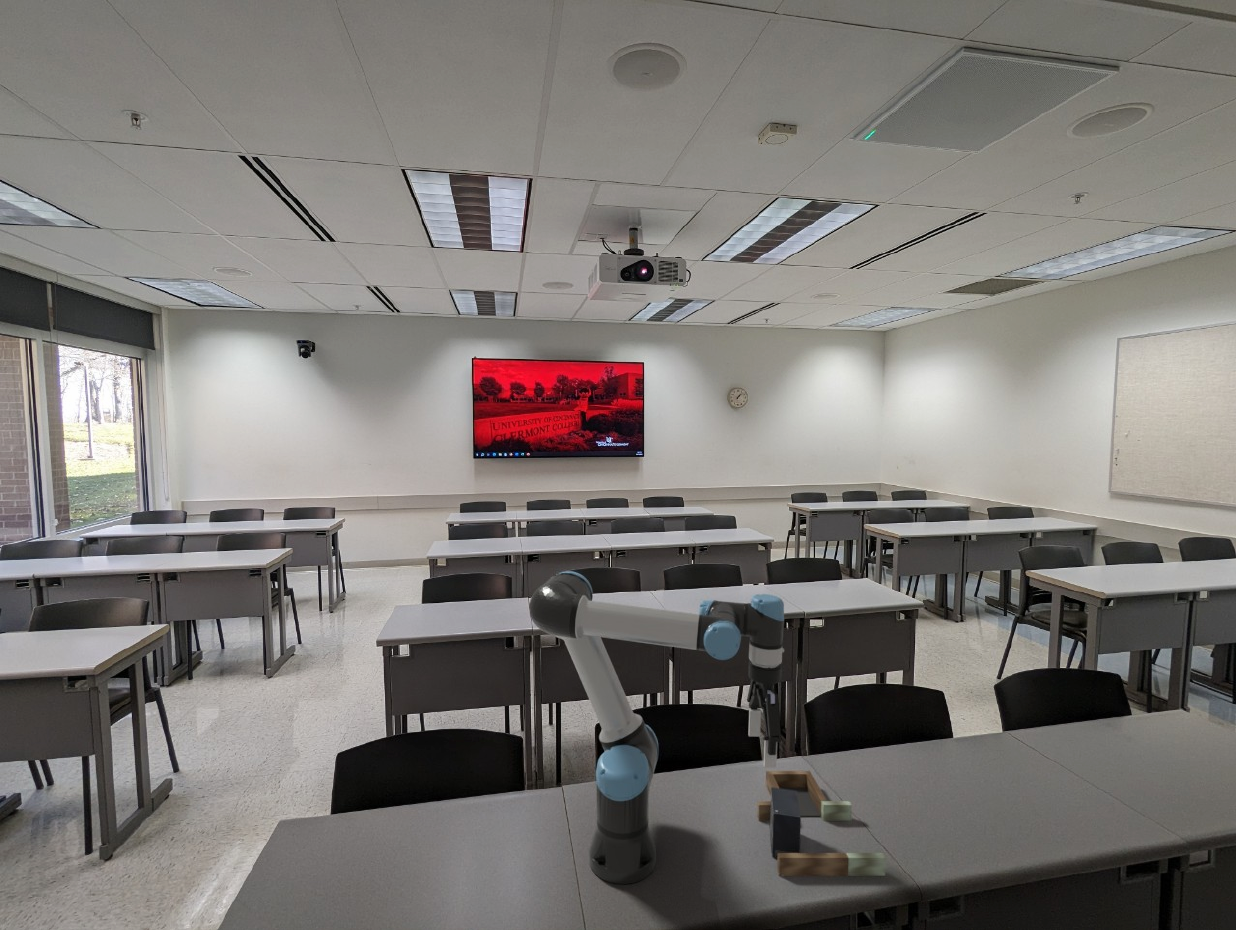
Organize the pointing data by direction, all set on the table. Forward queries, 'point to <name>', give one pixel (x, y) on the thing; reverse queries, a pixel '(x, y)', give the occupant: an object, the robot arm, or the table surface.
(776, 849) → the small box
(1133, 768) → the table surface
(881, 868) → the wooden frame pieces
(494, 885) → the table surface
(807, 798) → the mat
